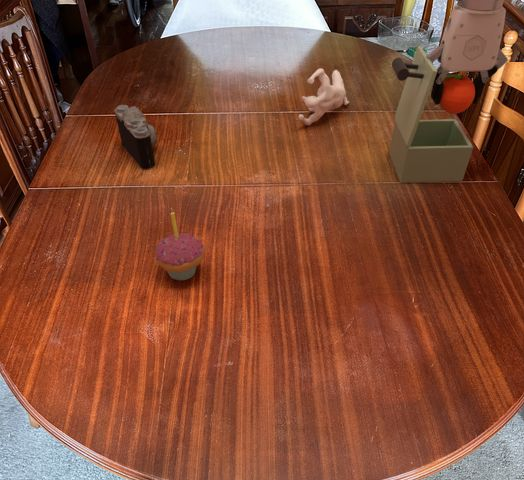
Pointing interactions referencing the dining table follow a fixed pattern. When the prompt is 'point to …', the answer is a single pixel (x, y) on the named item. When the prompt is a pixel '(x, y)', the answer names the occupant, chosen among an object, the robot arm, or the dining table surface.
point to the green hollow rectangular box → (431, 152)
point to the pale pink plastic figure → (324, 96)
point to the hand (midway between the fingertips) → (454, 100)
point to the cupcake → (179, 253)
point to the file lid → (413, 92)
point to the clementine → (457, 94)
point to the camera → (136, 135)
